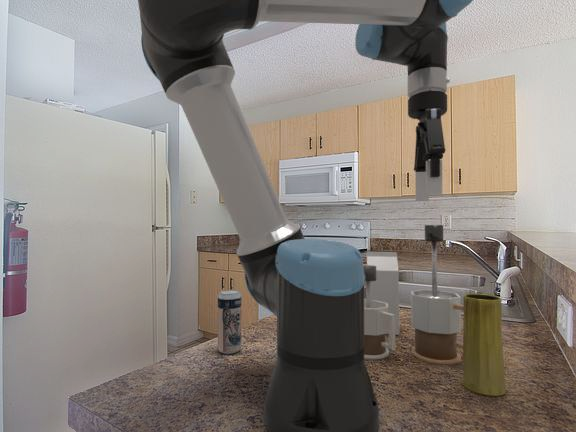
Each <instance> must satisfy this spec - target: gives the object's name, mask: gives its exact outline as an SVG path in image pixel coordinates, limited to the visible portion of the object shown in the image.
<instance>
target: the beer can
mask: <svg viewBox="0 0 576 432" xmlns="http://www.w3.org/2000/svg"><path fill="white" fill-rule="evenodd" d="M240 350H242V294H241V293H240V290H235V289H230V290H229V289H228V290H222V291H219V294H218V296H217V351H218V352H219V353H221V354H225V355H233V354H236V353H238V352H239V351H240Z"/></svg>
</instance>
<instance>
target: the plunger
mask: <svg viewBox="0 0 576 432" xmlns="http://www.w3.org/2000/svg"><path fill="white" fill-rule="evenodd" d="M424 242H428V243H429V242H431V287H432V288H431V290H432V292H420V293H418V294H417V295H418V296H423V297H428V298H444V299H449V298H453V296H452V295H450V294H446V293H439V292H437V290H438V265H437V264H438V263H437V262H438V253H437V252H438V250H437V249H438V248H437V243H440V242H441V243H442V242H444V224H424Z"/></svg>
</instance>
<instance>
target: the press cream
mask: <svg viewBox="0 0 576 432" xmlns="http://www.w3.org/2000/svg"><path fill="white" fill-rule="evenodd" d="M363 266H364V274H365V299H364V360H371V361H372V360H373V361H374V360H375V361H376V360H378V361H379V360H383V359H385V358H388V357H389V356H390V350H391V351H395V350H396V335H395V315H394V314H390V313H388V303H384V302H380V301H375V300H371V281H376V266H373V265H367V264H363ZM388 318H389V332H388ZM386 333H389V334H388V342H387V339H386V337H387V336H386V335H387V334H386Z"/></svg>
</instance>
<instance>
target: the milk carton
mask: <svg viewBox="0 0 576 432" xmlns="http://www.w3.org/2000/svg"><path fill="white" fill-rule="evenodd" d="M398 263H399V261H398V252H397V251H366V265H373V266H376V281H371V300H375V301H380V302H384V303H388V313H390V314H394V315H395V336H396V335H400V287H399V286H400V283H399V282H400V279H399V278H400V277H399V264H398ZM388 332H389V318H388ZM386 335H389V333H386Z"/></svg>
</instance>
